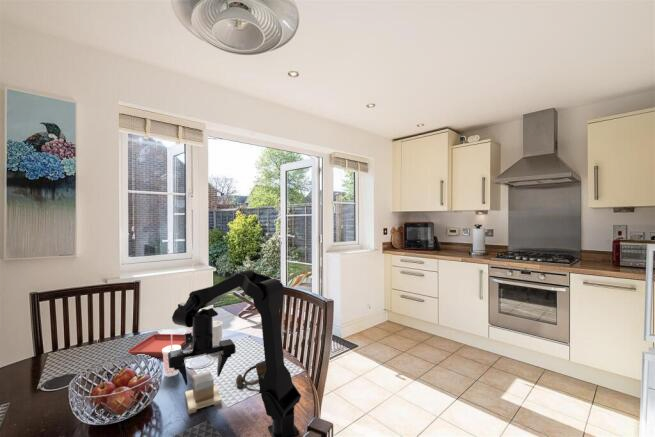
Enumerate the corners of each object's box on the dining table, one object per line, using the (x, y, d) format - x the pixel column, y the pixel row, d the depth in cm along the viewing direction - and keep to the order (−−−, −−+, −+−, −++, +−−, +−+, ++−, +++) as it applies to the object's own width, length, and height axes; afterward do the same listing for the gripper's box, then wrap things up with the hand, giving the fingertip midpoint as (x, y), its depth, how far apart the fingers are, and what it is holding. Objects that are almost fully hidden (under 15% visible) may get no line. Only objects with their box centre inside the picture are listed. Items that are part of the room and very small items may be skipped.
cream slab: (221, 404, 91) (221, 399, 91) (189, 414, 86) (189, 409, 86) (215, 388, 100) (215, 383, 100) (185, 396, 95) (185, 391, 95)
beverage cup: (158, 377, 106) (158, 338, 106) (167, 368, 112) (167, 331, 112) (176, 377, 106) (176, 337, 106) (184, 368, 112) (184, 331, 112)
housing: (213, 398, 92) (213, 379, 92) (195, 403, 89) (195, 384, 89) (209, 388, 97) (209, 370, 97) (193, 393, 94) (192, 375, 94)
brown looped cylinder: (271, 376, 98) (278, 355, 107) (232, 370, 98) (243, 350, 108) (270, 394, 99) (278, 372, 109) (232, 389, 100) (243, 367, 110)
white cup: (202, 344, 133) (202, 322, 132) (221, 341, 136) (221, 319, 136) (203, 352, 125) (203, 328, 125) (223, 348, 129) (223, 325, 129)
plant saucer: (154, 340, 138) (154, 333, 138) (193, 341, 137) (193, 333, 137) (126, 359, 120) (126, 351, 120) (171, 360, 119) (171, 352, 119)
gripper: (227, 316, 104) (227, 361, 105) (166, 326, 95) (166, 376, 95) (236, 327, 95) (236, 376, 95) (169, 339, 85) (169, 394, 86)
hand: (202, 380), depth 93 cm, fingers open, 9 cm apart
